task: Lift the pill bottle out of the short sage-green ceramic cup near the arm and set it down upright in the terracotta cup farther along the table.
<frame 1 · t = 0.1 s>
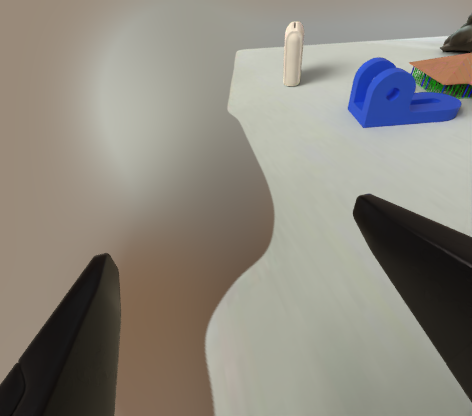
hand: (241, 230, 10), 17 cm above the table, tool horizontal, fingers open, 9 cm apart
photo printer: (291, 80, 70), on the table
bracket: (402, 114, 52), on the table
lucky cat figurine: (468, 53, 76), on the table
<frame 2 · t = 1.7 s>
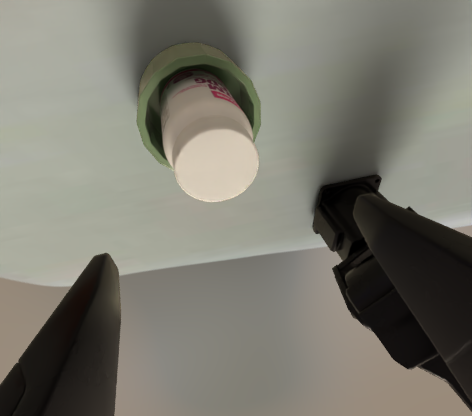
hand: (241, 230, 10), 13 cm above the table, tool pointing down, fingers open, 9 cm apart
green cup: (194, 103, 19), on the table
pill bottle: (194, 103, 19), resting on green cup
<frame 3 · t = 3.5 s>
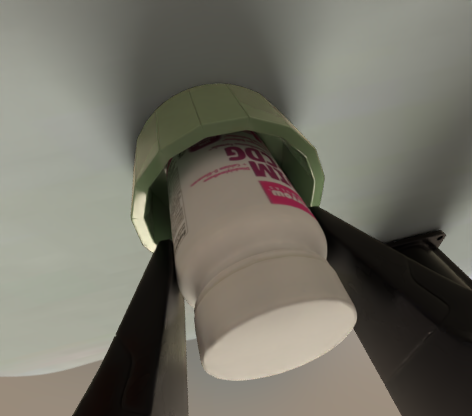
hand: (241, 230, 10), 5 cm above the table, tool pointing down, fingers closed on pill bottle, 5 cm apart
green cup: (216, 164, 13), on the table
pill bottle: (216, 164, 13), resting on green cup, touching gripper
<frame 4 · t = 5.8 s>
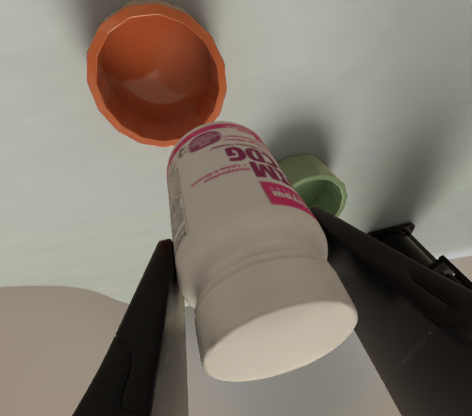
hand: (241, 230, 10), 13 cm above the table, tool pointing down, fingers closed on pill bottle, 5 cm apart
green cup: (292, 187, 27), on the table
pill bottle: (216, 164, 13), point 9 cm above the table, touching gripper
terracotta cup: (159, 70, 18), on the table
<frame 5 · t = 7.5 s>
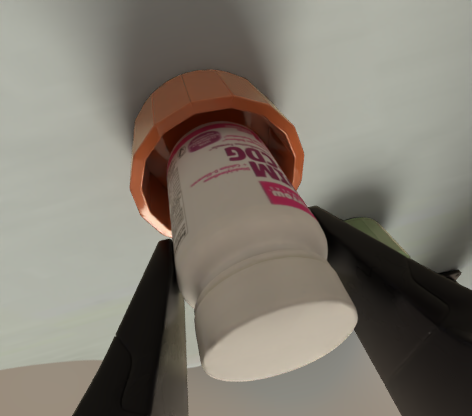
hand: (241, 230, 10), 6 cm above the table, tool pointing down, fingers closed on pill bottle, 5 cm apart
green cup: (341, 249, 24), on the table
pill bottle: (216, 164, 13), point 2 cm above the table, touching gripper
terracotta cup: (208, 146, 14), on the table
when the fingers open (4 cm above the table, at t = 8.5 s): pill bottle stays where it is, resting on terracotta cup.
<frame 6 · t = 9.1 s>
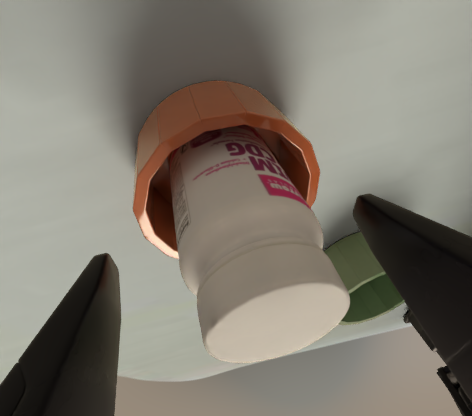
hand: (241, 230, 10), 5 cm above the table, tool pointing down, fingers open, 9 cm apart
green cup: (351, 261, 23), on the table
pill bottle: (217, 160, 13), resting on terracotta cup
terracotta cup: (216, 159, 13), on the table
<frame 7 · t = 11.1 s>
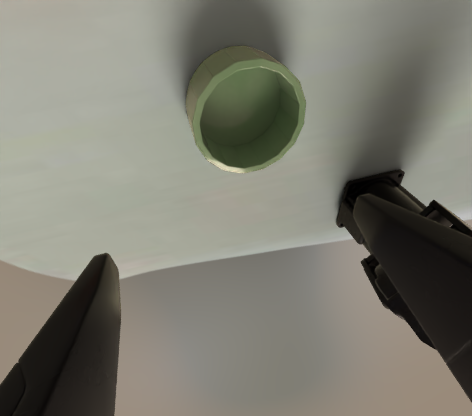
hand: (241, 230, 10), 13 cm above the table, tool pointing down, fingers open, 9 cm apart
green cup: (236, 103, 20), on the table
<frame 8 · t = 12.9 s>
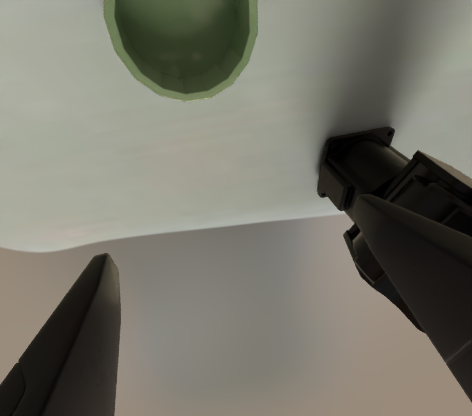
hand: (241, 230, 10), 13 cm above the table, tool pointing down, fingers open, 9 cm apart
green cup: (179, 16, 16), on the table
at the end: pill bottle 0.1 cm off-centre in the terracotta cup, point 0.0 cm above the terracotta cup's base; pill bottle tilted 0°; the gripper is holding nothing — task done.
